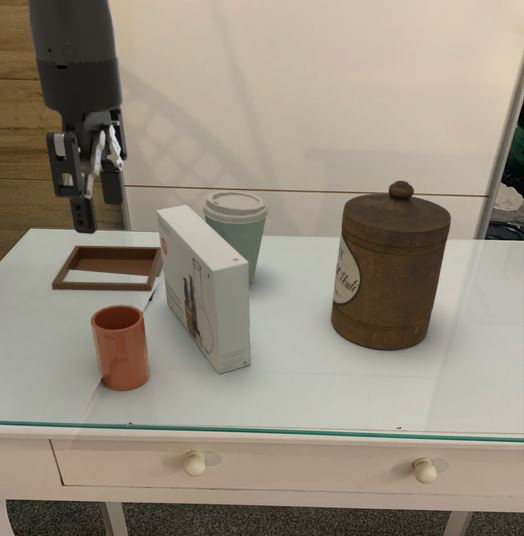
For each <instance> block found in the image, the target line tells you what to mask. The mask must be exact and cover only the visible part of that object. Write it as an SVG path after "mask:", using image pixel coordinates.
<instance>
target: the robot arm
mask: <svg viewBox="0 0 524 536" xmlns="http://www.w3.org/2000/svg"><path fill="white" fill-rule="evenodd" d="M27 9H28V23H29V30H30V37H31V41H32V46H33V50H34V51H33V52H34V57H35V62H36V69H37V73H38V78H39V84H40V89H41V95H42V99H43V104H44V105H45V107H46V108H48V109H49V110H51V111H55V112H57V113H58V114H59V115H60V116H61V131H60V132H58V131H56V132H52V131H51V132H50V131H49V132H47V133H46V134H45V142H46V148H47V154H48V155H47V156H48V161H49V166H50V172H51V178H52V184H53V190H54V195H55V197H56V199H57V198H58V199H68V200H69V204H70V210H71V211H70V212H71V216H72V220H73V227H74V230H75V232H76V233H78V234H84V235H85V234H86V235H93V234H95V233H96V232H97V231H98V222H97V216H96V210H95V209H96V208H95V203H94V197H93V188H94V180H95V179H96V178H98V177H100V183H101V190H102V196H103V202H104V203H105V204H106V205H110V206H121V205H123V203H124V202H125V197H124V196H125V195H124V188H123V180H122V179H123V178H122V171H123V170H124V163H123V161H124V162H126V161H127V160H128V156H129V155H128V150H127V142H126V134H125V127H124V119H123V111H122V107H121V105H122V104H123V101H124V98H123V88H122V79H121V70H120V62H119V53H118V44H117V35H116V28H115V22H114V18H113V14H112V8H111V4H110V0H27ZM100 170H101V171H100ZM63 174H64V177H63Z"/></svg>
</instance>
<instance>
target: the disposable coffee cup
mask: <svg viewBox="0 0 524 536" xmlns="http://www.w3.org/2000/svg"><path fill="white" fill-rule="evenodd" d="M268 206H269V205H268V203H267V202H266V201H265V199H263V198H262V197H261V196H259V195H258V194H255V193H251V192H247V191H244V190H243V191H242V190H232V189H231V190H230V189H229V190H216V191H213V192H210V193H208V194H207V195H206V199H205V200H204V203H203V207H202V214H203V215H204V219H205V222H206V223H207V224H208V225H209V226H210V227H211V228H212V229H213V230H215V232H217V233H218V234H219V235H220V236H221V237H222V238H223V239H224V240H225V241H226V242H227V243H228V244H229V245H231V246H232V247H233V248H234V249H235V250H236V251H237V252H238V253H239V254H240V255H241V256H242V257H243V258H244V259H245V260H247V261H248V263H249V269H248V271H249V286H250V285H251V284H252V283H253V281H254V279H255V273H256V269H257V264H258V260H259V254H260V250H261V245H262V239H263V236H264V231H265V227H266V226H265V225H266V221H267V217H268V216H269V208H268Z"/></svg>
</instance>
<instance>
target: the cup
mask: <svg viewBox="0 0 524 536" xmlns="http://www.w3.org/2000/svg"><path fill="white" fill-rule="evenodd" d="M145 325H146V324H145V317H144V312H143V311H142V310H141V309H140V308H138V307H136V306H132V305H126V304H115V305H109V306H106V307H103V308H101V309H99V310H97V311H96V312H94V313H93V314H92V316H91V317H90V327H91V331H92V337H93V344H94V348H95V349H94V350H95V354H96V360H97V365H98V371H99V373H100V374H101V375H102V377H101V379H100V381H101V384H103V386H104V387H106V389H107V388H108V389H110V390H113V391H117V392H119V391H120V392H121V391H123V392H124V391H131V390H134V389H137V388H140V387H142V386H143V385H144V384H145V383H146V382H147V381H148V380H149V378H150V375H151V374H150V371H151V370H150V363H149V362H150V361H149V353H148V344H147V335H146V326H145Z"/></svg>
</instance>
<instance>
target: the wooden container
mask: <svg viewBox="0 0 524 536" xmlns="http://www.w3.org/2000/svg"><path fill="white" fill-rule="evenodd" d="M414 194H415V189H414V187H413V186H412V185H411V184H410V183H409V181H405V180H397V181H394V182H393V183H391V184H390V185H389V187H388V193H369V194H368V193H367V194H362V195H357V196H355V197H352V198H350V199H349V200H347V201H346V202H345V203H344V206H343V211H342V217H341V219H342V220H341V231H340V237H339V238H340V239H339V246H338V253H337V262H336V268H335V277H334V285H333V295H332V296H333V297H332V306H331V312H330V313H331V314H330V315H331V316H330V321H331V324H332V327H333V328H334V330H335V331H336V332H337V333H338V334H339V335H340V336H342V337H343V338H344V339H346V340H348V341H350V342H352V343H355V344H357V345H360V346H363V347H367V348H372V349H377V350H378V349H379V350H399V349H405V348H410V347H412V346H415V345H417V344H419V343H420V342H422V340H424V338H425V337H426V336H427V333H428V330H429V326H430V322H431V319H432V317H431V316H432V312H433V308H434V304H435V301H436V296H437V291H438V287H439V281H440V276H441V270H442V266H443V260H444V255H445V250H446V246H447V241H448V238H449V234H450V229H451V223H452V215H451V213H450V212H449V211H448V210H447V209H446V208H445V207H443V206H441V205H440V204H438V203H436V202H433V201H430V200H428V199H424V198H421V197H420V198H419V197H417V196H413V195H414Z"/></svg>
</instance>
